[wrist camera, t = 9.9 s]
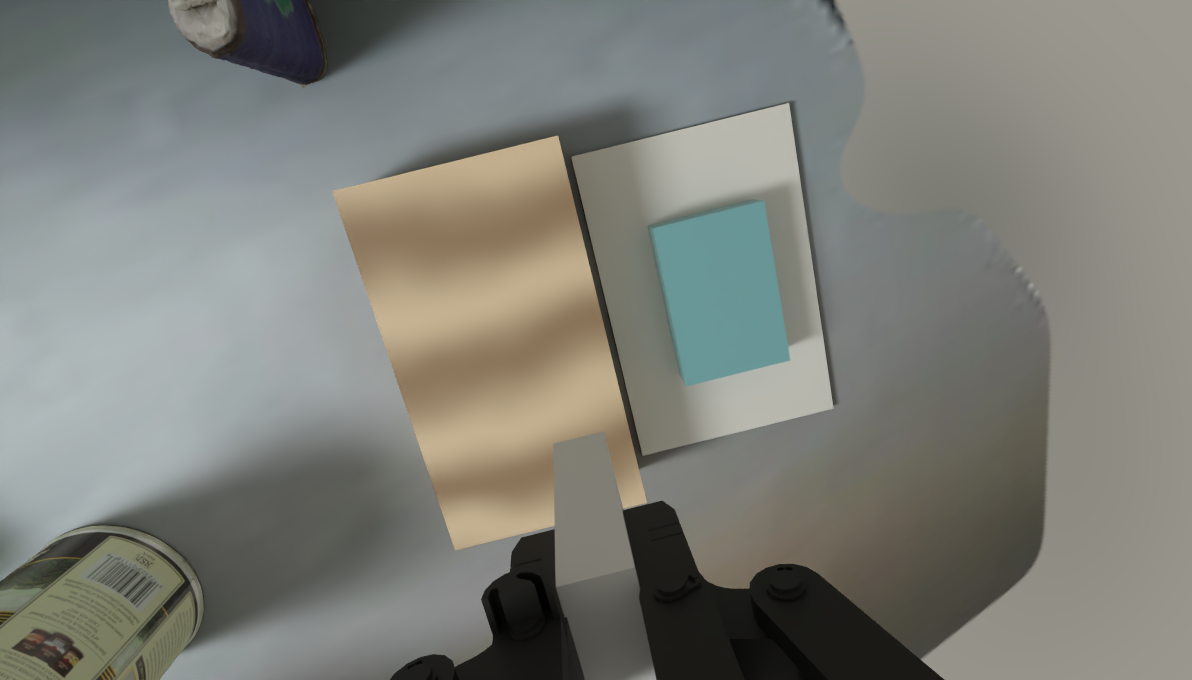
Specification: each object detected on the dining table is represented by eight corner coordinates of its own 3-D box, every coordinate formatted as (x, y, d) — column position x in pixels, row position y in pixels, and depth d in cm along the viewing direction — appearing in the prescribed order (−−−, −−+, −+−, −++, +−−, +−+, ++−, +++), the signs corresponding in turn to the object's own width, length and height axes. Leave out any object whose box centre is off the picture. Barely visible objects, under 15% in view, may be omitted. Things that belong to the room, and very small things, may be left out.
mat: (831, 406, 38) (833, 408, 38) (642, 453, 38) (642, 455, 38) (787, 103, 34) (789, 102, 33) (571, 156, 34) (571, 156, 33)
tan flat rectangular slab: (637, 470, 39) (646, 502, 35) (464, 513, 39) (455, 550, 35) (557, 140, 33) (557, 135, 30) (358, 189, 33) (332, 191, 30)
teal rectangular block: (686, 386, 35) (679, 375, 37) (790, 360, 35) (777, 350, 37) (652, 228, 33) (647, 225, 35) (764, 200, 33) (752, 199, 35)
